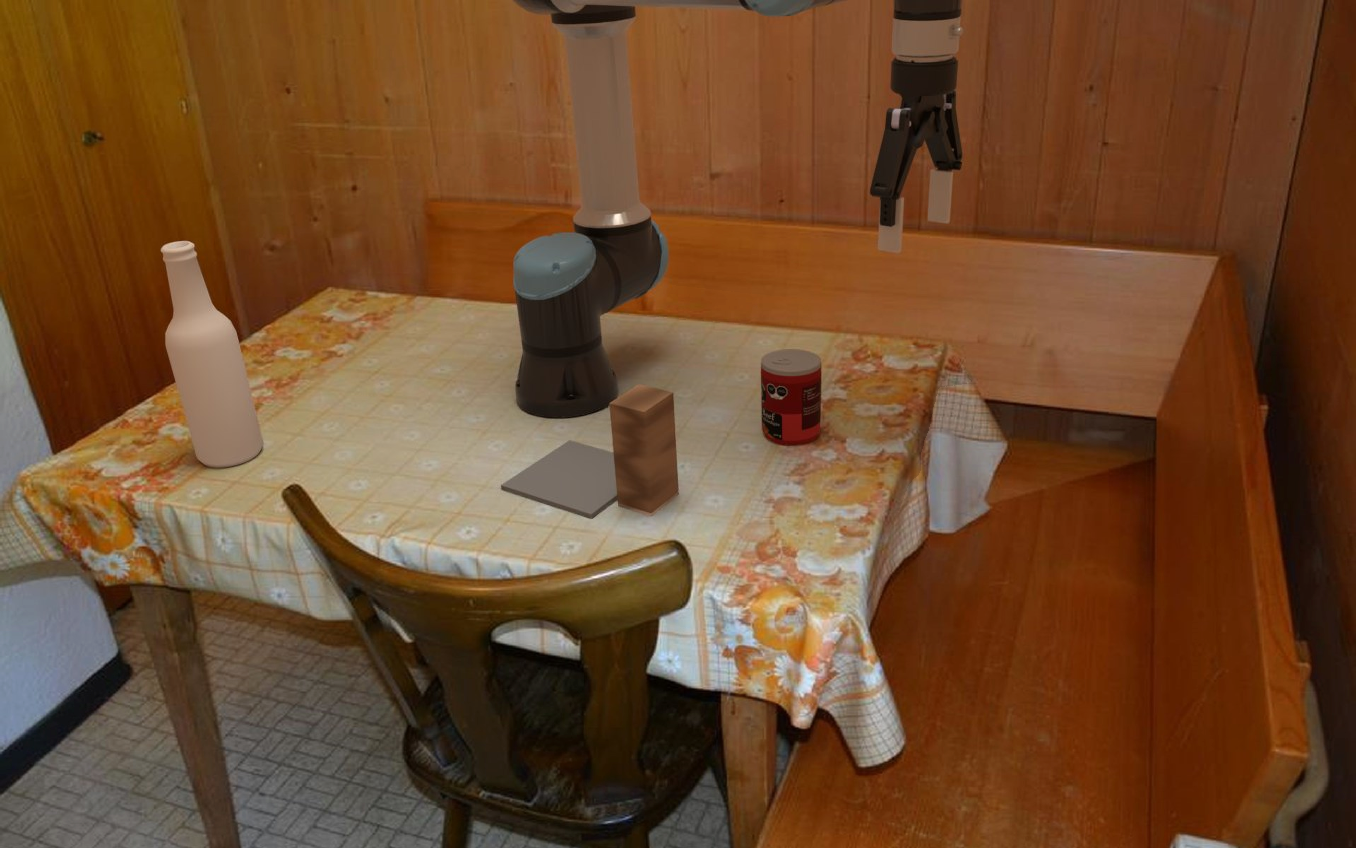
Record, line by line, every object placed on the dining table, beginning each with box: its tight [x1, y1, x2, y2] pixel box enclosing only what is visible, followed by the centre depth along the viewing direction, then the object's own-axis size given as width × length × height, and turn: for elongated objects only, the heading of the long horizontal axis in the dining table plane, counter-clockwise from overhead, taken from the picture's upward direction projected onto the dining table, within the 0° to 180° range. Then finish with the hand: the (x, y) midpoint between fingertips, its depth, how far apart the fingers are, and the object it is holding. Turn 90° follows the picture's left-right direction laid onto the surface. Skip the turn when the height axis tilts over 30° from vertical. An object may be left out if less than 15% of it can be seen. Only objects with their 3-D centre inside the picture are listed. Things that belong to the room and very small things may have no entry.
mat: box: [500, 440, 617, 519], centre depth 141 cm, size 14×14×1 cm
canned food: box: [760, 348, 822, 447], centre depth 147 cm, size 8×8×11 cm
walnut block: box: [608, 383, 680, 517], centre depth 133 cm, size 5×6×14 cm
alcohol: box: [160, 240, 264, 469], centre depth 145 cm, size 9×9×30 cm
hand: (914, 235), depth 135 cm, fingers open, 13 cm apart
